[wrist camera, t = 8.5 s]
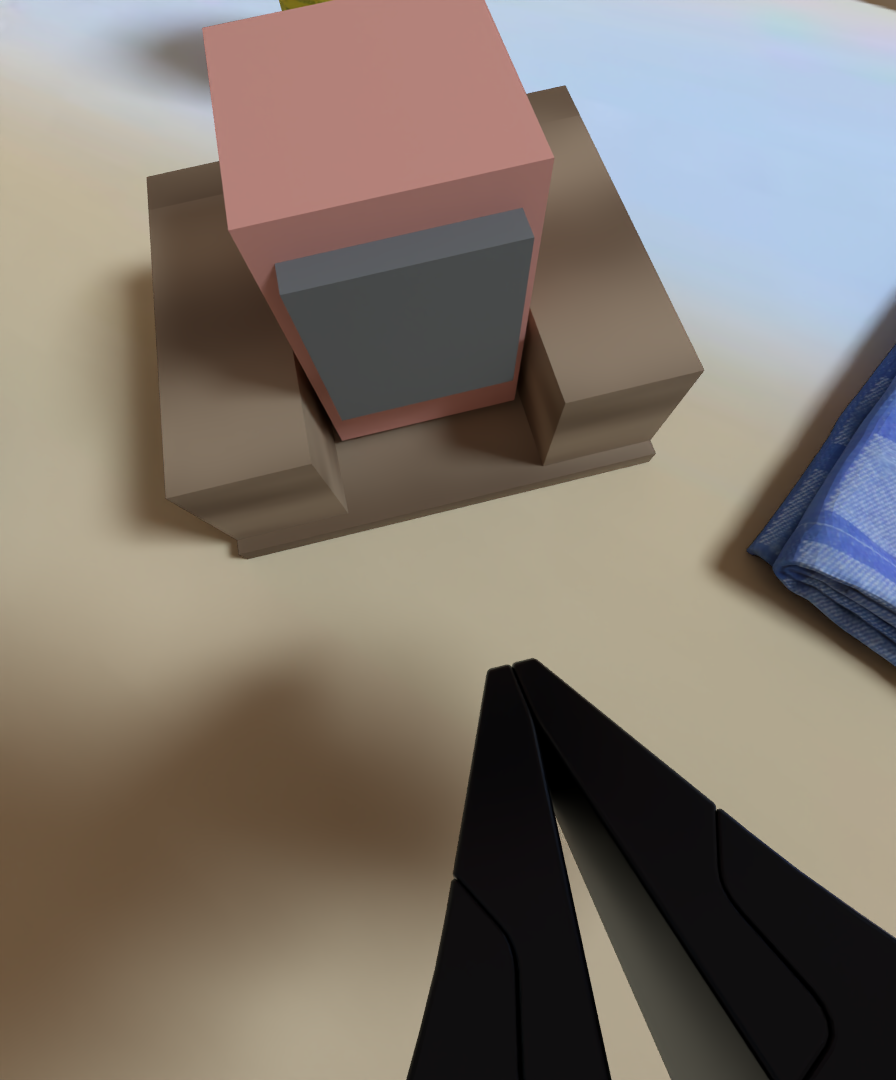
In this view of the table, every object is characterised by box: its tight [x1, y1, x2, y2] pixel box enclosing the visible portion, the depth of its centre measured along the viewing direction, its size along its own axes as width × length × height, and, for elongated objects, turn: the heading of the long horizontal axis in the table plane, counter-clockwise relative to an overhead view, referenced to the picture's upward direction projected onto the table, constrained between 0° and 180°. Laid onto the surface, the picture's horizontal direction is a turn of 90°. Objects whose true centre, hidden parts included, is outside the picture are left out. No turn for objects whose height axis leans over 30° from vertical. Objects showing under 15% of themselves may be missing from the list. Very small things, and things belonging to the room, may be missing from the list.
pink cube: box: [202, 0, 554, 441], centre depth 12 cm, size 7×6×8 cm
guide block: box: [147, 86, 704, 559], centre depth 15 cm, size 12×14×4 cm
